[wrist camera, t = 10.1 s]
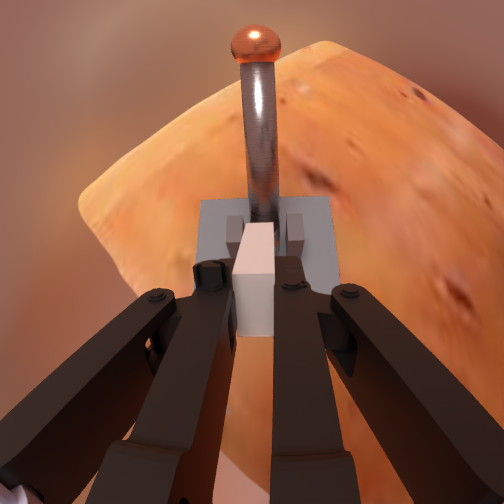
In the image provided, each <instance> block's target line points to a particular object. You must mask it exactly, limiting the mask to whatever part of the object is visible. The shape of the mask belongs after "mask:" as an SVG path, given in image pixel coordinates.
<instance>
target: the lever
mask: <svg viewBox="0 0 504 504" xmlns="http://www.w3.org/2000/svg"><path fill="white" fill-rule="evenodd" d="M231 52H232V55H233V57H234V59H235V60H236V61H237V62H238V63H239V64H240V74H241V90H242V105H243V121H244V137H245V152H246V168H247V183H248V199H249V214H250V223H268V222H273V226H274V252H279V251H280V239H279V238H280V210H279V167H278V136H277V111H276V89H275V69H274V62H275V61H276V60H277V59H278V57H279V55H280V52H281V42H280V39H279V37H278V35H277V34H276V33H275V32H274V31H273V30H272V29H270V28H268V27H266V26H263V25H257V24H255V25H248V26H245V27H243V28H241V29H240V30H239V31H238V32H237V33H236V34H235V35H234V37H233V39H232V41H231Z"/></svg>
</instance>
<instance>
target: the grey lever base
mask: <svg viewBox="0 0 504 504" xmlns="http://www.w3.org/2000/svg"><path fill="white" fill-rule="evenodd" d="M279 210H280V238H279V239H280V251H279V252H274V256H297V257H298V258H299V259H301V261H302V266H303V270H304V274H305V278H306V281H308V282H309V284H310V285H311V290H313V291H315V292H318V293H322V294H329V295H331V291H332V289H333V288H334V287H335V286H338V285H340V278H339V269H338V260H337V252H336V244H335V236H334V229H333V222H332V215H331V208H330V202H329V196H303V197H279ZM246 223H250V214H249V199H248V198H237V199H217V200H201V207H200V217H199V228H198V240H197V252H196V264H197V263H199V262H202V261H206V260H219V259H221V258H236V257H237V254H238V250H239V247H240V243H241V240H242V236H243V233H244V229H245V226H246ZM195 288H196V287H195V280H194V290H195Z"/></svg>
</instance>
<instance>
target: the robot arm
mask: <svg viewBox="0 0 504 504" xmlns="http://www.w3.org/2000/svg"><path fill="white" fill-rule="evenodd" d="M193 273H194V280H195V287H196V288H195V290H194V292H193V294H192V296H189V297H184V298H178V299H175V296H174V292H173V291H171V290H169V289H161V288H157V289H152V290H151V291H148V292H146V293H144V294H143V295H141V296H140V297H139V298H138V299H137V300H135V301H134V302H133V303H132V304H131V305H129V306H128V307H127V308H126V309H125V310H123V311H122V312H121V313H120V314H119V315H118V316H116V317H115V318H114V319H113V320H112V321H110V322H109V323H108V324H107V325H106V326H105V327H103V328H102V329H101V330H100V331H99V332H98V333H96V334H95V335H94V336H93V337H92V338H91V339H89V340H88V341H87V342H86V343H85V344H84V345H83V346H81V347H80V348H79V349H78V350H77V351H76V352H75V353H73V354H72V355H71V356H70V357H69V358H68V359H67V360H66V361H64V362H63V363H62V364H61V365H60V366H59V367H58V368H57V369H55V370H54V371H53V372H52V373H51V374H50V375H49V376H48V377H47V378H46V379H44V380H43V381H42V382H41V383H40V384H39V385H38V386H37V387H36V388H34V389H33V390H32V391H31V392H30V393H29V394H28V395H27V396H26V397H25V398H24V399H23V400H22V401H21V402H19V403H18V404H17V405H16V406H15V407H14V408H13V409H12V410H11V411H10V412H9V413H8V414H7V415H6V416H5V417H4V418H3V419H2V420H1V421H0V504H72V503H73V501H74V500H75V499H76V498H77V497H78V496H79V495H80V493H81V492H82V491H83V489H84V488H85V487H86V486H87V484H88V483H89V482H90V480H91V479H92V478H93V477H94V475H95V474H96V472H97V471H98V470H99V471H98V473H97V475H96V478H95V480H94V483H93V485H92V487H91V490H90V492H89V495H88V497H87V500H86V502H85V504H213V503H212V496H213V489H214V483H215V476H216V469H217V464H218V458H219V451H220V445H221V439H222V433H223V426H224V420H225V414H226V407H227V401H228V395H229V389H230V383H231V376H232V370H233V364H234V358H235V351H236V345H237V343H236V329H237V336H238V337H269V336H274V364H273V428H272V456H271V479H270V504H361V501H360V494H359V488H358V482H357V476H356V470H355V464H354V460H353V456H352V455H351V453H350V452H349V451H345V449H344V446H343V441H342V435H341V430H340V424H339V418H338V413H337V407H336V402H335V397H334V391H333V386H332V381H331V376H330V371H329V366H328V361H327V357H326V354H327V356H328V358H329V360H330V361H331V363H332V365H333V366H334V368H335V370H336V371H337V373H338V375H339V376H340V378H341V380H342V381H343V383H344V385H345V386H346V388H347V390H348V391H349V393H350V395H351V396H352V398H353V400H354V401H355V403H356V405H357V406H358V408H359V410H360V411H361V413H362V415H363V416H364V418H365V420H366V421H367V423H368V425H369V427H370V428H371V430H372V432H373V433H374V435H375V437H376V438H377V440H378V442H379V443H380V445H381V447H382V448H383V450H384V452H385V454H386V455H387V457H388V459H389V460H390V462H391V464H392V465H393V467H394V469H395V471H396V472H397V474H398V476H399V477H400V479H401V481H402V483H403V484H404V486H405V488H406V489H407V491H408V493H409V495H410V496H411V498H412V500H413V502H414V503H415V504H504V430H503V429H502V428H501V426H500V425H499V424H498V423H497V422H496V421H495V420H494V418H493V417H492V416H491V415H490V414H489V413H488V412H487V411H486V410H485V408H484V407H483V406H482V405H481V404H480V403H479V402H478V401H477V400H476V399H475V397H474V396H473V395H472V394H471V393H470V392H469V391H468V390H467V389H466V388H465V387H464V386H463V385H462V384H461V383H460V381H459V380H458V379H457V378H456V377H455V376H454V375H453V374H452V373H451V372H450V371H449V370H448V369H447V368H446V367H445V366H444V365H443V364H442V363H441V362H440V361H439V360H438V359H437V358H436V357H435V356H434V355H433V354H432V353H431V352H430V351H429V350H428V349H427V348H426V347H425V346H424V345H423V344H422V343H421V342H420V341H419V340H418V339H417V338H416V337H415V336H414V335H413V334H412V333H411V332H410V331H409V330H408V329H407V328H406V327H405V326H404V325H403V324H402V323H401V322H400V321H399V320H398V319H397V318H396V317H395V316H394V315H393V314H392V313H391V312H390V311H389V310H388V309H387V308H385V307H384V306H383V305H382V304H381V303H380V302H379V301H378V300H377V299H376V298H375V297H374V296H373V295H372V294H371V293H370V292H368V291H367V290H366V289H365V288H363V287H362V286H358V285H356V284H350V283H347V284H341V285H338V286H335V287H334V288H333V289H332V291H331V295H329V294H322V293H318V292H315V291H313V290H311V285H310V284H309V282H308V281H306V278H305V274H304V270H303V266H302V261H301V259H299V258H298V257H297V256H274V226H273V222H268V223H246V226H245V229H244V233H243V236H242V240H241V243H240V247H239V250H238V254H237V257H236V258H221V259H219V260H206V261H202V262H199V263H197V264H195V265H194V266H193ZM148 338H149V339H150V343H151V345H150V346H149V347H148V348H146V346H145V344H146V342H147V340H148ZM325 349H326V352H325ZM135 422H136V423H135ZM134 423H135V425H134V427H133V430H132V432H131V434H130V436H129V438H128V439H127V440H122V439H123V437H124V436H125V435H126V433H127V432H128V431H129V429H130V428H131V427H132V426H133V424H134Z"/></svg>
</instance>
